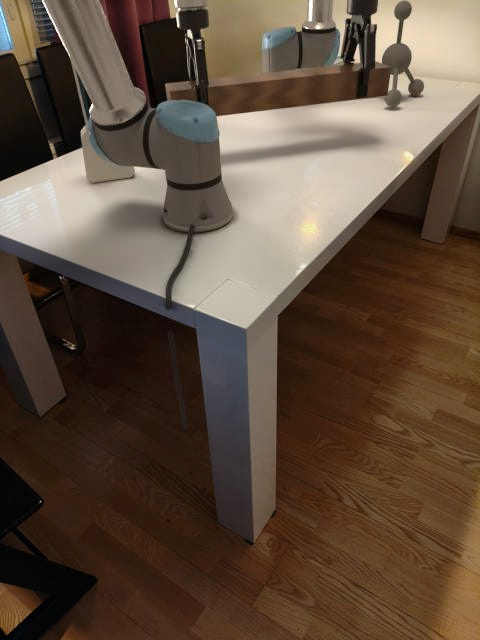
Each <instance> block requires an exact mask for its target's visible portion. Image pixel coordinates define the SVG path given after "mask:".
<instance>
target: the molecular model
mask: <svg viewBox="0 0 480 640" xmlns="http://www.w3.org/2000/svg"><path fill="white" fill-rule="evenodd" d="M412 6H413V5H412V4H411V2H410V1H408V0H401V1H399V2H398V3H396V5H395V7H394V9H393V10H394V11H393V14H394V18H395V19H396V20H398V28H397V34H396V35H397V36H396V42H395V43H391V45H389V46H387V48H386V49H385V50H384V52H383V53H382V57H381V63H382V64H384V65H387V66H390V67H391V73H390V76H393V77H392V87H391V90H388V96H384V102H385V104H386V105H387V107H390V108H396V107H398V106H399V105H400V104H401V102H402V100H403V95H402V92H401V91H400V90H399V89H398V81H399V75H401V74H404V73H405V75H406V77H407V78H408V81H409V83H408V88H407V89H408V90H407V91H408V93H409V94H410V95H411V96H413V97H415V96H419V95H421V94H422V93H423V91H424V89H425V83H424V81H423V80H422V79H420V78H414V76H413V74H412V73H411V71H410V69H409V67H410V65H411V63H412V59H413V54H412V51H411V49H410V47H409V46H408V45H407V44H405V43H403V42H402V37H403V31H404V23H405V20H407V19H409V18H410V16H411V14H412V11H413V7H412Z"/></svg>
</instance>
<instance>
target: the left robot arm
mask: <svg viewBox="0 0 480 640" xmlns="http://www.w3.org/2000/svg"><path fill="white" fill-rule="evenodd" d="M41 1H42V3H43V5H44V7H45V9H46V11H47V14H48V16H49V18H50V20H51V21H52V23H53V26H54V27H55V30H56V32H57V33H58V36H59V39H60V40H61V42H62V45H63V46H64V48H65V50H66V52H67V54H68V56H69V59H70V58H71V59H70V61H71V60H72V62H73V64H74V67H75V69H76V71H77V73H78V75H79V77H80V79H81V81H82V83H83V88H84V90H85V91H86V93H87V95H88V97H89V99H90V102H91V105H90V108H89V114H90V118H89V121H88V129H89V130H90V134H89V139H90V142H91V145H92V147H93V149H94V150H95V152H96V153H97V154H98V156H99V157H101V158H102V159H103V160H105V161H106V162H109V163H113V164H117V165H120V166H134V168H146V169H155V170H163V171H164V174H165V180H166V190H165V191H166V192H165V196H164V203H163V207H162V218H163V222H164V224H165V226H167V227H168V228H169V229H171V230H173V231H177V232H180V233H188V234H187V238H186V242H185V246H184V249H183V252H182V255H181V257H180V259H179V261H178V263H177V265H176V266H175V268H174V269H173V270H172V272H171V273H170V275H169V277H168V279H167V283H166V285H165V309H166V311H171V310H172V308H173V305H172V303H173V301H172V288H173V287H172V286H173V284H174V280H175V279H176V276H178V274H179V272H180V271H181V270H182V268H183V266H184V264H185V263H186V259H187V257H188V254H189V251H190V248H191V245H192V240H193V236H194V234H195V233H196V234H197V233H205V232H206V233H207V232H210V231H215V230H216V229H220V228H222V227H224V226H226V225H227V224H228V223H230V221H231V220H232V218H233V216H234V212H233V211H234V210H233V205H232V201H231V200H230V197H229V195H228V192H227V190H226V187H225V184H224V182H223V175H222V174H223V173H222V161H221V159H222V158H221V143H220V136H221V135H220V129H219V124H218V116H216V114H215V112H214V111H213V110H212V109H211V108H210V107H209V101H208V86H209V81H208V79H209V75H208V74H209V73H208V64H207V54H206V40H205V38H204V37H202V32H201V30H204V29H207V28H209V27H210V18H209V17H210V16H209V10H208V9H207V8H206V7H207V6H209V5H208V0H174V6H175V9H177V11H176V12H175V14H176V24H177V25H176V26H177V29H179V30H181V31H187V33H185V34H184V38H185V39H184V41H185V45H186V61H187V63H186V64H187V75H188V78H189V81H195V80H196V83H197V85H195V86H194V89H196V92H197V102H196V101H191V100H180V101H178V100H169V101H167V100H166V101H162V102H160V103H159V104H158V105H157V106H156V108H154V107H153V108H152V107H151V106H150V104H149V101H148V99H147V96H146V94H145V92H144V91H143V89H140V88H138V87H136V86H134V84H133V82H132V79H131V76H130V73H129V71H128V69H127V67H126V64H125V61H124V59H123V56H122V54H121V51H120V49H119V46H118V43H117V41H116V39H115V36H114V33H113V31H112V28H111V26H110V23H109V21H108V18H107V15H106V13H105V11H104V9H103V5H102V3H101V0H41ZM167 337H168V344H169V345H168V347H169V353H170V360H171V368H172V374H173V379H174V385H175V390H176V395H177V400H178V407H179V411H180V417H181V422H182V428H183V429H184V430H187V429H188V428H189V425H188V417H187V413H186V408H185V407H186V406H185V401H184V396H183V390H182V385H181V379H180V373H179V367H178V358H177V352H176V344H175V333H174V331H171V330H167Z"/></svg>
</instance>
